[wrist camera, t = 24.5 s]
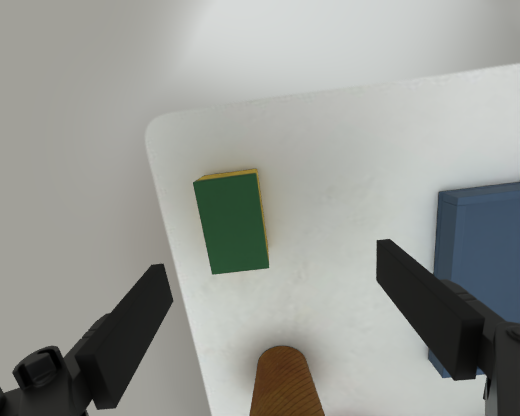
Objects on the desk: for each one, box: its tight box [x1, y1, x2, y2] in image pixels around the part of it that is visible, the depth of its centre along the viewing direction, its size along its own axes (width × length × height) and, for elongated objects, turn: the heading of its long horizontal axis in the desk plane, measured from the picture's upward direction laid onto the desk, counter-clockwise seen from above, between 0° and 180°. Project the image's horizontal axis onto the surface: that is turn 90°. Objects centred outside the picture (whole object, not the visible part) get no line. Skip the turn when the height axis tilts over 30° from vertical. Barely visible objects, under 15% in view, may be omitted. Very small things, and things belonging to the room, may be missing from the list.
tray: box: [428, 182, 520, 378], centre depth 27 cm, size 22×16×3 cm
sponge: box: [193, 169, 269, 274], centre depth 24 cm, size 9×6×4 cm, turn 8°
